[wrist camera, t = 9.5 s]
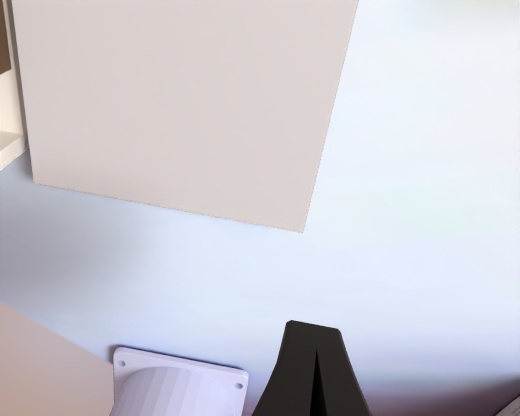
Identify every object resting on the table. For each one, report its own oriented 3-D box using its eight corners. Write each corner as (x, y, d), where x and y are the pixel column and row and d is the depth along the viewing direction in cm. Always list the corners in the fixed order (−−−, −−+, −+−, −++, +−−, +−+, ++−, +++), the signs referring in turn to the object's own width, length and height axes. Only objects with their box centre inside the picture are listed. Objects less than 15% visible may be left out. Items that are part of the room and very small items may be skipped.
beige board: (304, 214, 22) (303, 233, 21) (50, 168, 22) (33, 183, 21) (393, -165, 15) (399, -172, 13) (11, -230, 15) (-18, -243, 14)
